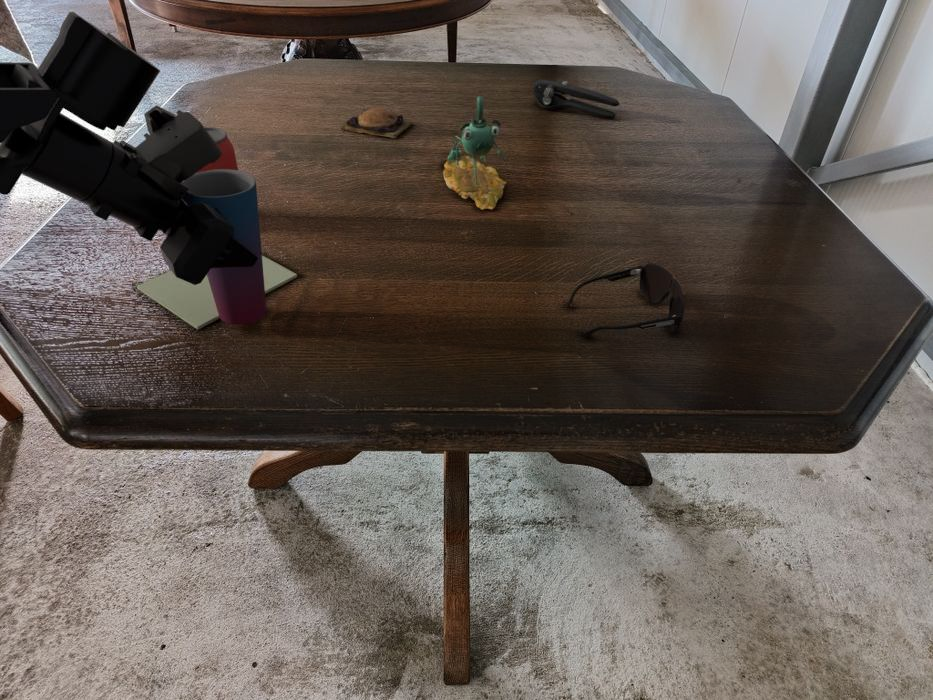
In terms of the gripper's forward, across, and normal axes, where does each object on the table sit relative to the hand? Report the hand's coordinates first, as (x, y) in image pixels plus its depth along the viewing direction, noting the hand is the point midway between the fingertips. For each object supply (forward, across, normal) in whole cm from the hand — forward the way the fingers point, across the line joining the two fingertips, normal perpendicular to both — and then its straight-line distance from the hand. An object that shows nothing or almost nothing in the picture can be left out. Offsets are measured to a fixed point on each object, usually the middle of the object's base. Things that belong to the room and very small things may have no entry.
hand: (242, 248), depth 65 cm
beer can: (+10, +24, +3) cm, 26 cm away
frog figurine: (+36, +13, -24) cm, 45 cm away
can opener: (+62, +29, -51) cm, 85 cm away
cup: (+4, 0, +6) cm, 8 cm away
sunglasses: (+30, -24, -18) cm, 43 cm away
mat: (+6, +9, +7) cm, 12 cm away
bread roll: (+36, +42, -24) cm, 60 cm away
